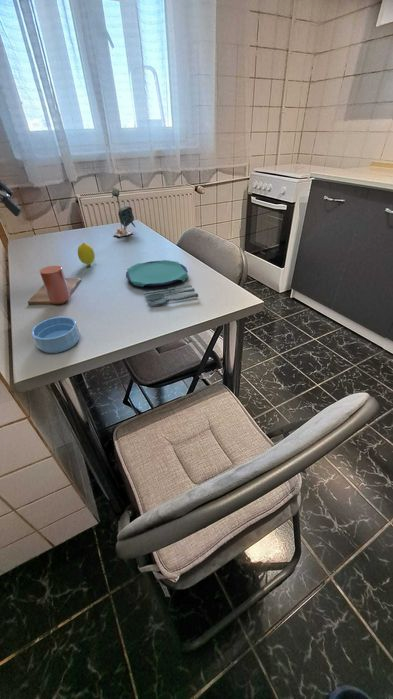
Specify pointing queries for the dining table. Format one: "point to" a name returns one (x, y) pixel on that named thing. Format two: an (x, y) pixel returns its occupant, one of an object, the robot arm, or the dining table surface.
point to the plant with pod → (123, 216)
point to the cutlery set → (159, 279)
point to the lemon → (86, 254)
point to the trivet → (42, 295)
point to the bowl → (56, 334)
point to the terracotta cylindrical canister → (55, 283)
